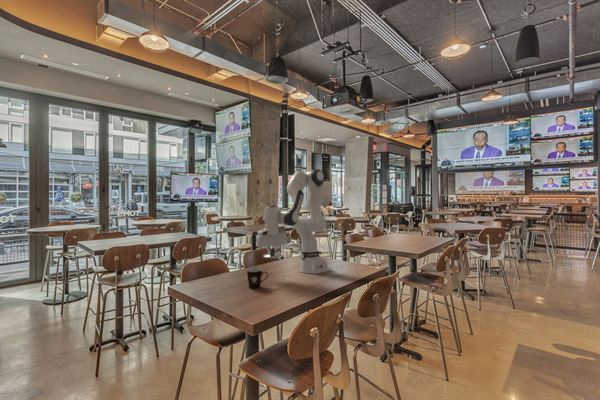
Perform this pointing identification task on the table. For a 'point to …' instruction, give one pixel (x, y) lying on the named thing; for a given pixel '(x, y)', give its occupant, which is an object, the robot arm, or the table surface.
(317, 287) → the table surface
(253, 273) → the coffee mug
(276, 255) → the lid
